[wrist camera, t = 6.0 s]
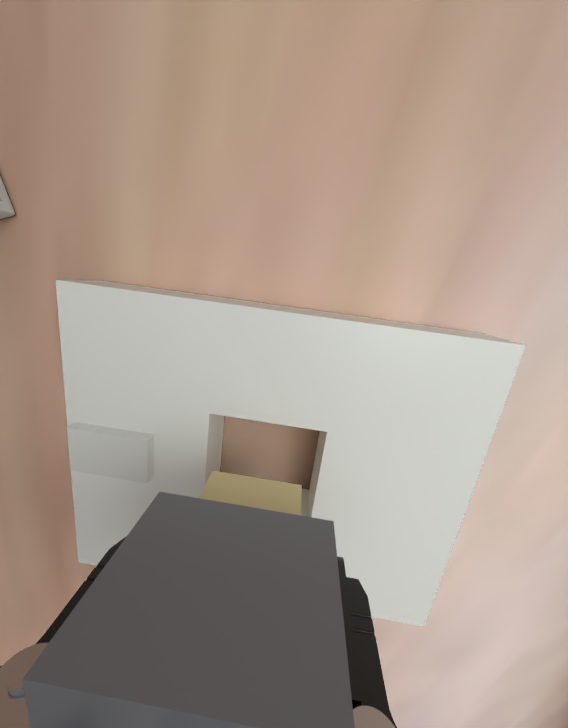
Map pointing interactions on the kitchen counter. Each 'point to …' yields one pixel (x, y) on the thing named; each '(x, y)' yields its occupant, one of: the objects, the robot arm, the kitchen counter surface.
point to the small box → (5, 202)
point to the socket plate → (282, 419)
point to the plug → (205, 621)
